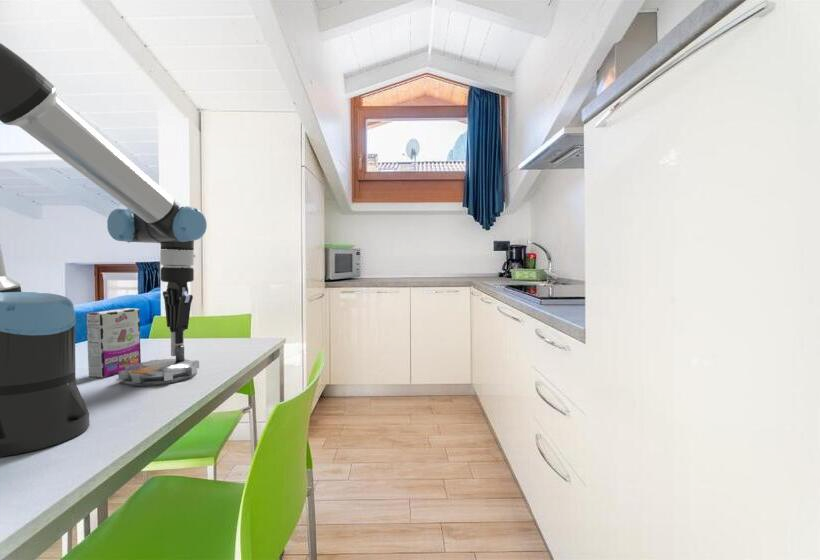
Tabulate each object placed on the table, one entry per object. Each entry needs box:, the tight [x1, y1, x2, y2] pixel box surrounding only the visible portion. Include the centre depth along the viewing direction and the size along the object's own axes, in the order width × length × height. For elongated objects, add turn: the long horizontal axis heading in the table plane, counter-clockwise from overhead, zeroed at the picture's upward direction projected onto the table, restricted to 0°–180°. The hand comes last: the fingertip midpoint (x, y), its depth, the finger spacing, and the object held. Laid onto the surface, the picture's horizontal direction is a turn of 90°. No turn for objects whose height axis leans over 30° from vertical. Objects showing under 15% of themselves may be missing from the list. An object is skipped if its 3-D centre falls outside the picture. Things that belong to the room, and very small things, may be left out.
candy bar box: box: [85, 307, 142, 379], centre depth 105 cm, size 11×5×16 cm, turn 168°
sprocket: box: [117, 345, 200, 383], centre depth 101 cm, size 17×17×6 cm
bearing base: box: [121, 368, 198, 387], centre depth 101 cm, size 16×16×1 cm
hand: (177, 355), depth 106 cm, fingers closed
